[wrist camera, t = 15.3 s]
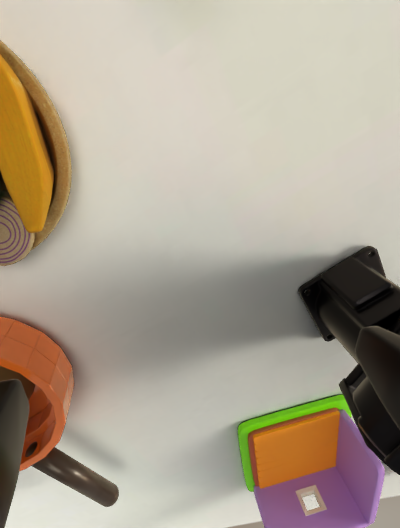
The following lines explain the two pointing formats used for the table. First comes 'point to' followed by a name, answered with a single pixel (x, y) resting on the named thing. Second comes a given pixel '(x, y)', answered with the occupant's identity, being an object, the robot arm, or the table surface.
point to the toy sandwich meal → (29, 161)
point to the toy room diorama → (311, 467)
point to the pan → (38, 383)
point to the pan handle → (76, 476)
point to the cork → (6, 374)
